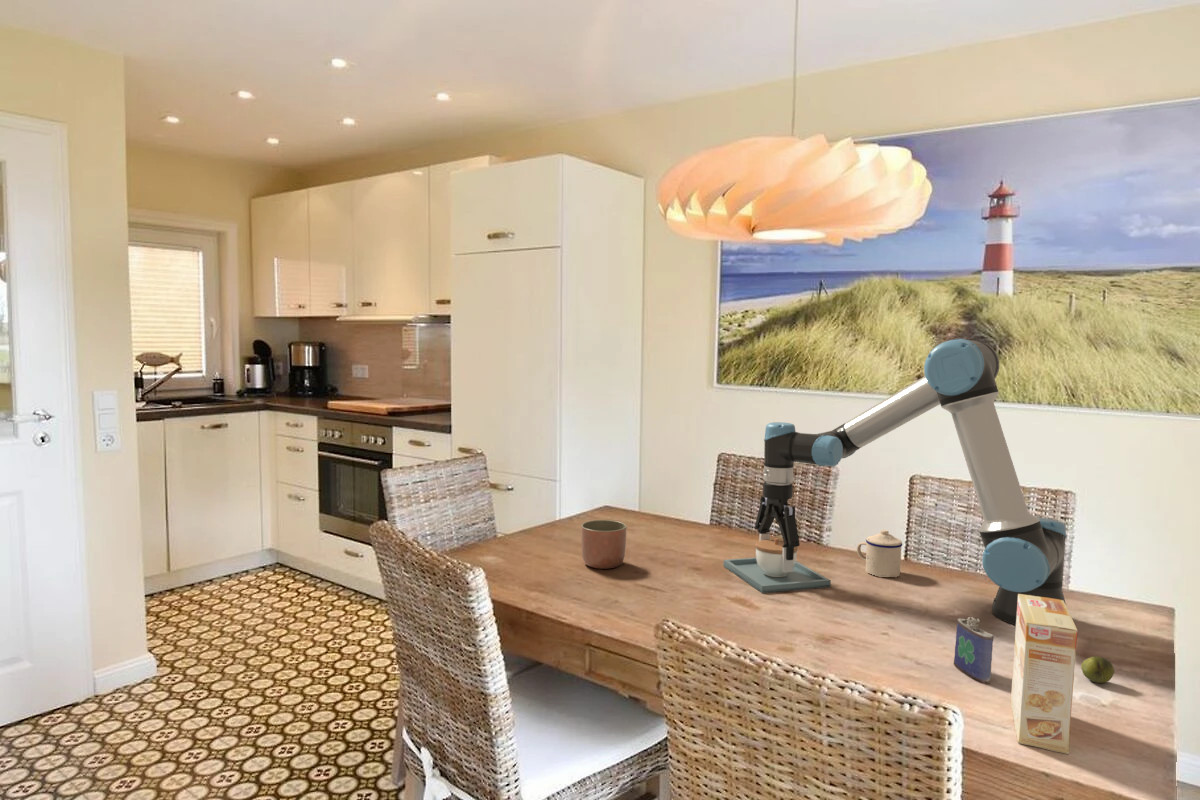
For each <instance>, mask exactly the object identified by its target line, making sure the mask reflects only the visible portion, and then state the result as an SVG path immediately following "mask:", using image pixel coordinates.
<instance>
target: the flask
mask: <svg viewBox="0 0 1200 800" xmlns="http://www.w3.org/2000/svg"><path fill="white" fill-rule="evenodd" d="M980 622H981V620H980V618H975V617H970V616H969V617H967V618H958V619H957V620H956V632H955V647H954V657H953V659H954V660H953V665H954V667H955V668H956V669H958V671H960V672H962V673H964V675H965V676H967V677H969V678H970V679H972V680H974V681H975V682H978V683H980V684H982V685H987V684H991V681H992V661H993V644H994V635H993V634H992V633H989V632H988V631H985V629H982V628H981V627H979V623H980Z"/></svg>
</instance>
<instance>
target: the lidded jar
mask: <svg viewBox="0 0 1200 800" xmlns="http://www.w3.org/2000/svg"><path fill="white" fill-rule="evenodd" d="M783 545H784V541H783V539H782V540H781V539H780V540H779V538H778V537H774V539H770V540H761V541H759V540H757V541H756V542H755V557H756V561H757V564H758V566H759V568H760V569H761V570H762V571H763V573H764V574H765V575H767V576H771V577H785V576H787V574H788V573H789V572H782V550H783V547H782V546H783ZM798 548H799V546H797V547H794V558H793V568H794V566H795V562H796V561H797V556H798V554H797V553H798Z"/></svg>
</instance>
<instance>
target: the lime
mask: <svg viewBox="0 0 1200 800" xmlns="http://www.w3.org/2000/svg"><path fill="white" fill-rule="evenodd" d="M1080 669H1081V672H1082V674H1083V676H1084V677H1085V678H1086V679H1088V680H1089V681H1091V682H1092V683H1097V684H1104V683H1107V682H1109V681H1110V680H1111V679H1112V678H1113V676H1114V674H1115V668H1114V666H1113V664H1112V662H1111V661H1110V660H1108V659H1107V658H1105V657H1102V656H1090V657H1089V658H1086V659H1084V660H1083V661H1082V663H1081V668H1080Z"/></svg>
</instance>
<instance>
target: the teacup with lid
mask: <svg viewBox="0 0 1200 800" xmlns="http://www.w3.org/2000/svg"><path fill="white" fill-rule="evenodd" d="M862 546H866V551H865V552H866V554H865V556H864V555H863V553H862V551H861V547H862ZM902 546H903V542H902V540H901V539H900V538H897V537H896V536H893V535H892V534H890V533H889V530H887V529H881V530H880V532H878V533H875V534H874V535H869V536H868V537H866V539H865V541H862V542H859V543H858V544H857V546H856V552H857V556H858V557H859V558H860V559H861V560H862V561H865V573H867V572H868V573H870V574H872V575H871V576H873V575H875V576H874V577H876V576H879V577H878V578H882V577H895V578H898V577H899V576H900V575H901V560H902ZM868 573H867V574H868ZM870 574H869V575H870ZM897 576H898V577H897Z"/></svg>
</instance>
